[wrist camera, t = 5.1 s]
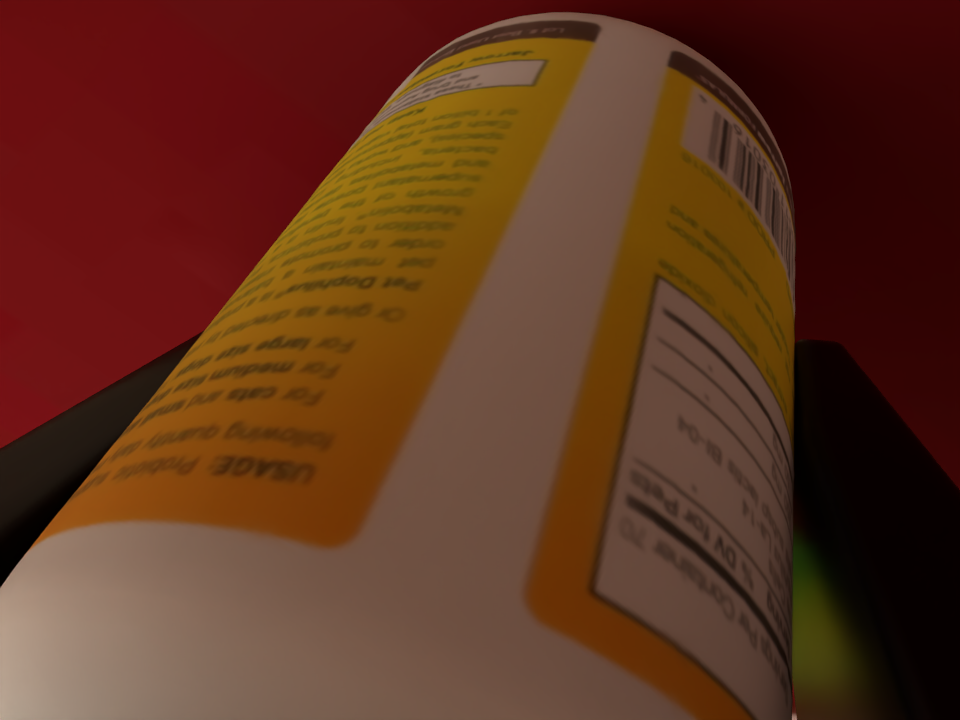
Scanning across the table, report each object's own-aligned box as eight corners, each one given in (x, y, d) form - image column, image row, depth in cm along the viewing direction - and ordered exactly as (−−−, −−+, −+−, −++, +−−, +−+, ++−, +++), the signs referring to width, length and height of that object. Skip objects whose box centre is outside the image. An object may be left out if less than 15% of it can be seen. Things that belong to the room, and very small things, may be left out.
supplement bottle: (352, 267, 13) (-207, 1100, 6) (444, -91, 9) (-1010, 1193, 2) (669, 410, 13) (503, 1400, 6) (902, 119, 9) (1260, 2118, 2)
